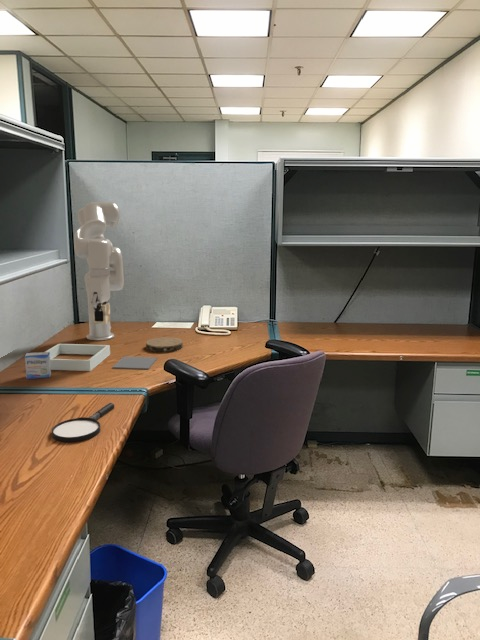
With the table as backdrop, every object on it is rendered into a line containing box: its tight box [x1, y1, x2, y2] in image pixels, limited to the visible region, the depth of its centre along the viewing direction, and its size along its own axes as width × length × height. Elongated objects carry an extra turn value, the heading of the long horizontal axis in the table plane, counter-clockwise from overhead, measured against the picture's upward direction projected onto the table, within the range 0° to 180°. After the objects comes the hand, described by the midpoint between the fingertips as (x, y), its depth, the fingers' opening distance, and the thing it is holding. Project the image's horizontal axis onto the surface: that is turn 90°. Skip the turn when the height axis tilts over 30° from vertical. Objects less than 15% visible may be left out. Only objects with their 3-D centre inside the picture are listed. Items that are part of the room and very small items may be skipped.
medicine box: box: [24, 351, 52, 380], centre depth 176 cm, size 8×4×9 cm, turn 105°
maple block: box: [92, 303, 111, 324], centre depth 189 cm, size 5×5×7 cm
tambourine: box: [145, 336, 184, 354], centre depth 215 cm, size 16×16×3 cm
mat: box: [111, 356, 158, 370], centre depth 193 cm, size 14×14×1 cm
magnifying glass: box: [51, 402, 115, 444], centre depth 138 cm, size 12×24×2 cm, turn 163°
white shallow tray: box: [44, 343, 111, 372], centre depth 194 cm, size 22×22×4 cm
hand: (102, 319), depth 190 cm, fingers closed on maple block, 5 cm apart
